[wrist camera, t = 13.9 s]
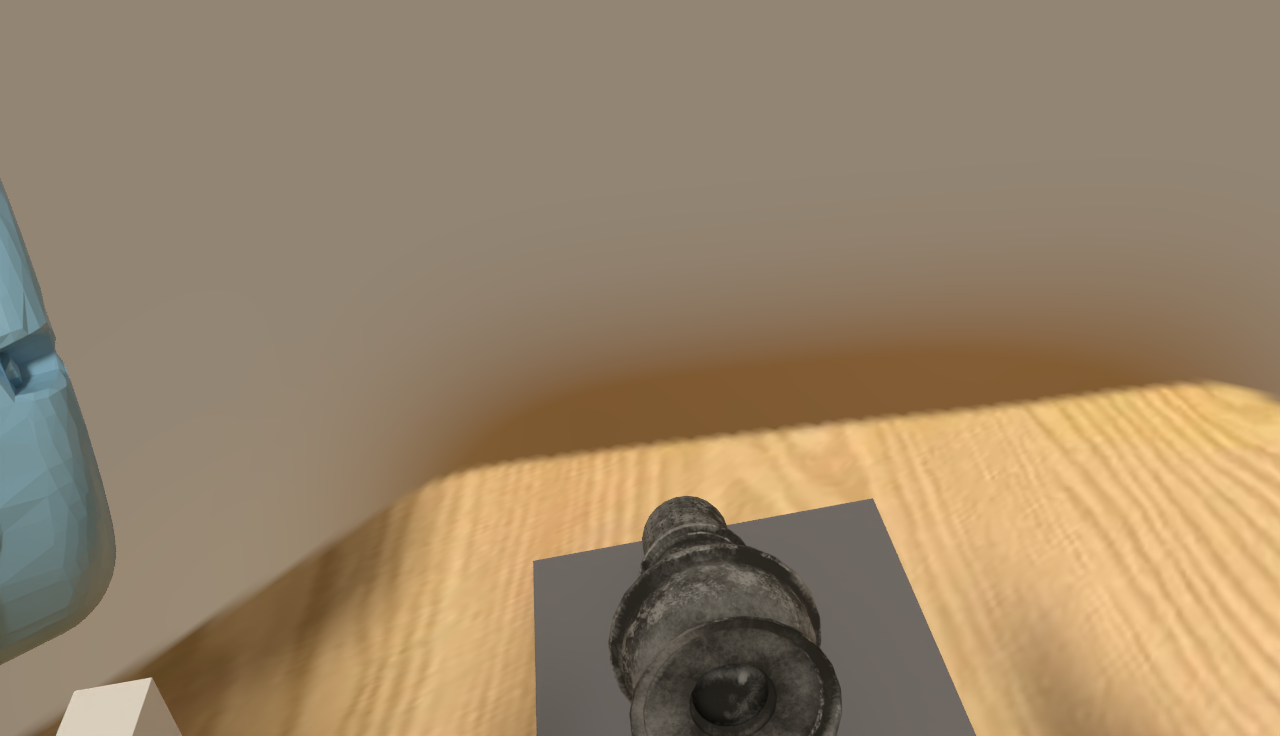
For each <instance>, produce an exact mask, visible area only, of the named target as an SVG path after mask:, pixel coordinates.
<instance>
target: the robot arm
mask: <svg viewBox="0 0 1280 736" xmlns="http://www.w3.org/2000/svg"><path fill="white" fill-rule="evenodd" d="M55 340H56V337H55V335H54V332H53V329H52V327H51V324H50V321H49V318H48V315H47V312H46V310H45V307H44V303H43V298H42V293H41V289H40V286H39V283H38V280H37V277H36V274H35V271H34V268H33V266H32V262H31V260H30V257H29V254H28V251H27V248H26V246H25V243H24V240H23V237H22V234H21V232H20V229H19V226H18V224H17V221H16V218H15V215H14V213H13V210H12V207H11V205H10V202H9V199H8V197H7V194H6V192H5V189H4V187H3V184H2V181H1V179H0V665H1V664H3V663H5V662H7V661H9V660H11V659H13V658H15V657H17V656H19V655H21V654H23V653H25V652H27V651H29V650H31V649H33V648H35V647H37V646H39V645H41V644H43V643H45V642H47V641H49V640H51V639H53V638H55V637H57V636H59V635H61V634H63V633H65V632H66V631H68V630H70V629H71V628H73V627H75V626H76V625H77V624H79V623H80V622H81V621H82V620H84V619H85V618H86V617H87V616H88V615H89V614H90V612H92V611H93V610H94V608H95V607H96V606H97V605H98V603H99V602H100V601H101V599H102V598H103V596H104V594H105V593H106V590H107V588H108V586H109V583H110V581H111V578H112V575H113V570H114V566H115V558H116V547H115V536H114V530H113V524H112V520H111V515H110V511H109V507H108V503H107V499H106V495H105V491H104V487H103V483H102V479H101V476H100V472H99V469H98V465H97V462H96V458H95V455H94V452H93V448H92V445H91V442H90V438H89V435H88V432H87V428H86V425H85V422H84V419H83V416H82V413H81V410H80V407H79V404H78V401H77V398H76V395H75V392H74V389H73V386H72V383H71V380H70V378H69V375H68V373H67V370H66V368H65V366H64V363H63V361H62V360H61V358H60V357H59V356H58V354H57V353H56V350H55ZM56 736H182V734H181V733H180V731H179V729H178V727H177V725H176V723H175V721H174V719H173V717H172V715H171V713H170V711H169V709H168V707H167V705H166V703H165V701H164V700H163V698H162V696H161V694H160V692H159V690H158V688H157V686H156V684H155V682H154V680H153V678H152V677H151V678H146V679H140V680H134V681H128V682H123V683H117V684H111V685H105V686H100V687H94V688H88V689H83V690H77V691H74V693H73V695H72V698H71V700H70V703H69V705H68V707H67V710H66V712H65V715H64V717H63V719H62V722H61V724H60V727H59V729H58V732H57V734H56Z"/></svg>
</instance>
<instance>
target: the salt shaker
mask: <svg viewBox="0 0 1280 736" xmlns="http://www.w3.org/2000/svg"><path fill="white" fill-rule="evenodd" d="M642 542H643V551H644V558H643V560H642V562H641V564H640V569H639V574H638V579H637V580H636V581H635V582H634V583H633V584H632V585H631V587H630V588H629V589H628V590H627V591H626V592H625V593H624V595H623V597H622V599H621V601H620V603H619V605H618V607H617V610H616V612H615V614H614V616H613V618H612V624H611V629H610V635H609V640H608V645H609V654H610V663H611V670H612V672H613V674H614V677H615V679H616V681H617V684H618V686H619V688H620V690H621V692H622V693H623V695H624V696H625V697H626V698H627V699H628V700H629V702H630V703H631V707H630V713H629V716H630V725H631V734H632V736H837V732H838V728H839V724H840V720H841V716H842V697H841V687H840V684H839V681H838V679H837V676H836V673H835V670H834V668H833V665H832V663H831V662H830V660H829V659H828V658H827V657H826V655H825V654H824V653H823V651H822V650H821V649H820V646H821V624H820V615H819V613H818V610H817V607H816V604H815V601H814V599H813V596H812V593H811V592H810V590H809V589H808V588H807V586H806V585H805V584H804V582H803V581H802V580H801V578H800V577H799V576H798V574H797V573H796V572H795V571H794V570H793V569H791V568H790V567H789V566H787V565H786V564H785V563H783V562H782V561H781V560H779V559H778V558H777V557H775V556H773V555H771V554H768V553H765V552H763V551H760V550H758V549H755V548H753V547H750V546H746V545H745V543H744V542H743V541H742V539H741V538H740V537H739V536H737V535H736V534H735V533H733V532H732V531H731V530H729V529H728V528H727V526H726V523H725V520H724V518H723V516H722V515H721V514H720V512H719V511H718V510H717V509H716V508H715V507H714V506H713V505H711V504H710V503H709V502H707V501H705V500H703V499H700V498H698V497H691V496H683V497H676V498H673V499H671V500H668V501H666V502H664V503H663V504H661V505H660V506H658V507H657V508H656V509H655V510H654V512H653V513H652V514H651V515H650V516H649V518H648V520H647V522H646V525H645V527H644V532H643V537H642Z"/></svg>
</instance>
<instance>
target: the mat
mask: <svg viewBox="0 0 1280 736" xmlns="http://www.w3.org/2000/svg"><path fill="white" fill-rule="evenodd" d="M726 526H727V528H728V529H729V530H731V531H732V532H733V533H735V534H736V535H737V536H739V537H740V538H741V539H742V541H743V542H744V543H745V545H746V546H750V547H753V548H755V549H758V550H760V551H763V552H765V553H768V554H771V555H773V556H775V557H777V558H778V559H779V560H781V561H782V562H783V563H785V564H786V565H787V566H789V567H790V568H791V569H793V570H794V571H795V572H796V573H797V574H798V576H799V577H800V578H801V580H802V581H803V582H804V584H805V585H806V586H807V588H808V589H809V590H810V592H811V593H812V596H813V599H814V601H815V604H816V607H817V610H818V613H819V615H820V624H821V646H820V649H821V650H822V651H823V653H824V654H825V655H826V657H827V658H828V659H829V660H830V662H831V663H832V665H833V668H834V670H835V673H836V676H837V679H838V681H839V684H840V687H841V697H842V716H841V720H840V724H839V728H838V732H837V736H976V734H975V732H974V730H973V728H972V725H971V723H970V721H969V718H968V716H967V714H966V711H965V709H964V707H963V705H962V702H961V700H960V698H959V695H958V693H957V691H956V688H955V686H954V684H953V682H952V679H951V677H950V675H949V672H948V670H947V668H946V665H945V663H944V661H943V659H942V656H941V654H940V652H939V649H938V647H937V645H936V642H935V640H934V638H933V636H932V633H931V631H930V629H929V626H928V624H927V622H926V619H925V617H924V615H923V613H922V610H921V608H920V606H919V603H918V601H917V599H916V596H915V594H914V592H913V590H912V587H911V585H910V583H909V580H908V578H907V576H906V573H905V571H904V569H903V567H902V564H901V562H900V560H899V557H898V555H897V553H896V550H895V548H894V546H893V544H892V541H891V539H890V537H889V534H888V532H887V530H886V527H885V525H884V523H883V521H882V518H881V516H880V514H879V511H878V509H877V507H876V504H875V502H874V500H873V499H867V500H862V501H856V502H851V503H846V504H840V505H835V506H829V507H824V508H818V509H813V510H808V511H802V512H797V513H791V514H786V515H780V516H775V517H770V518H764V519H759V520H753V521H748V522H742V523H737V524H732V525H726ZM643 558H644V551H643V542H642V541H639V542H634V543H629V544H623V545H618V546H612V547H607V548H601V549H596V550H591V551H585V552H580V553H574V554H569V555H563V556H558V557H553V558H547V559H542V560H536V561H533V568H534V617H535V667H536V717H537V736H632V734H631V725H630V716H629V713H630V707H631V703H630V702H629V700H628V699H627V698H626V697H625V696H624V695H623V693H622V692H621V690H620V688H619V686H618V684H617V681H616V679H615V677H614V674H613V672H612V670H611V663H610V654H609V645H608V640H609V635H610V629H611V624H612V618H613V616H614V614H615V612H616V610H617V607H618V605H619V603H620V601H621V599H622V597H623V595H624V593H625V592H626V591H627V590H628V589H629V588H630V587H631V585H632V584H633V583H634V582H635V581H636V580H637V579H638V574H639V569H640V564H641V562H642V560H643Z"/></svg>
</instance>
